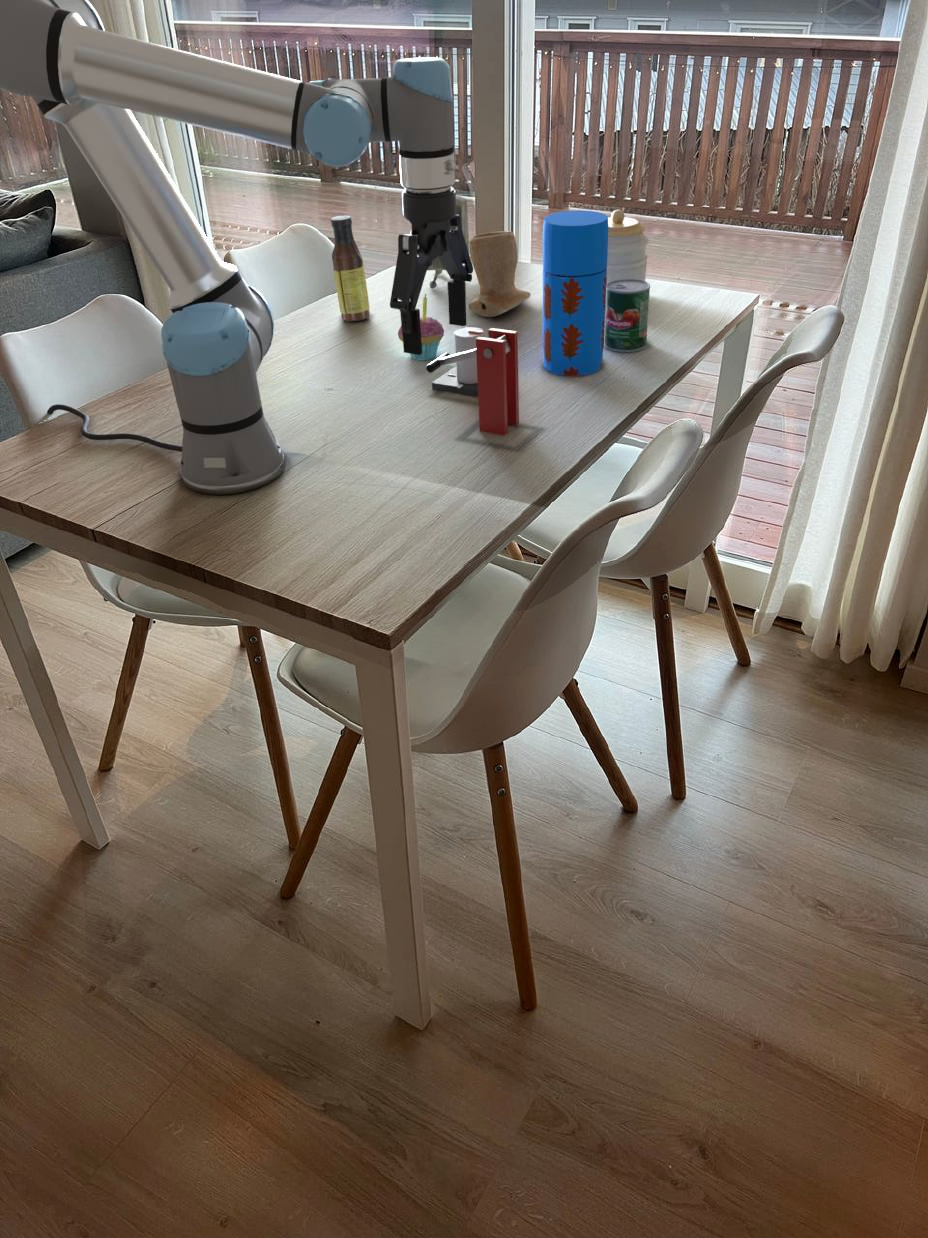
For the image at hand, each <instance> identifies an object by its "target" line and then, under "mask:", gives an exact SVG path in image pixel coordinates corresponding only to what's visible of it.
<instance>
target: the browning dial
mask: <svg viewBox="0 0 928 1238" xmlns="http://www.w3.org/2000/svg"><path fill="white" fill-rule="evenodd" d="M478 337H485V334H484V330H483V329H482V328H480V327H475V326H472V327H471V326H468V327H467V326H466V327H462V328H459V329H456V330H455V331H454V347H455V349H454V350H455V354H458V353H461V352H465V351H469V350H472V349H476V338H478ZM455 363H456V364H455V365H456V366H455V367H456V368H457V380H458V381H459V382H461V383H465V384H475V383H478V380H477V357H474V358H470V359H466V360H462V361H458V362H455Z"/></svg>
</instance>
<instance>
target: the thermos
mask: <svg viewBox="0 0 928 1238" xmlns="http://www.w3.org/2000/svg"><path fill="white" fill-rule="evenodd" d="M608 218H609V216H608V215H607V214H606V213H602V212H599V211H592V210H566V211H559V212H555V213H550V214H548V215H547V216H545V217H544V218H543V226H542V357H543V368H544V370H546V371H547V372H549V373H551V374H554V375H558V376H563V377H564V376H566V377H580V376H587V375H591V374H594V373H597V372H598V371H599V370H601V369H602V366H603V358H604V347H605V346H604V342H605V312H606V282H607V257H608V233H609V225H608Z"/></svg>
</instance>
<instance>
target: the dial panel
mask: <svg viewBox="0 0 928 1238" xmlns="http://www.w3.org/2000/svg"><path fill="white" fill-rule="evenodd" d="M431 390H432V391H439V392H444V393H450V394H455V395H462V396H469V397H473V398H478V383H475V384H465V383H461V382H459V381H458V380H457V368H456V366H453V367H452V368H450V369H449V370H448V371H446V372H445V373H443V374H442V375H440V376H439V377H437V378H436V379H435V380H433V381H431Z"/></svg>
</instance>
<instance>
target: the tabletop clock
mask: <svg viewBox="0 0 928 1238" xmlns="http://www.w3.org/2000/svg"><path fill="white" fill-rule="evenodd" d="M468 213H469V212H468V201H467V199H466V198H465V197H463V196H461V195H459V194H456V215H460V216H461V224H462V231H463V235H464V238H465V242H466V245H467V248H468V252H469V253H470V245H469V243H470V238H469V236H470V235H469V234H470V233H469V215H468ZM462 264H463V265H465V263H462ZM427 271H435V272H434V276H433V280H431V281H430V282H429V284H428V286H429V288H430V289H433V290H434V289H436V288H437V279H438V277H439V275H441V274H443V271H446V269H445V268H444V266H443V264H442V262H441V261H440V259H439V257H437V258H436V259H434V260H433V262H432V265H431V266H429V267H428V268H427Z"/></svg>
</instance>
